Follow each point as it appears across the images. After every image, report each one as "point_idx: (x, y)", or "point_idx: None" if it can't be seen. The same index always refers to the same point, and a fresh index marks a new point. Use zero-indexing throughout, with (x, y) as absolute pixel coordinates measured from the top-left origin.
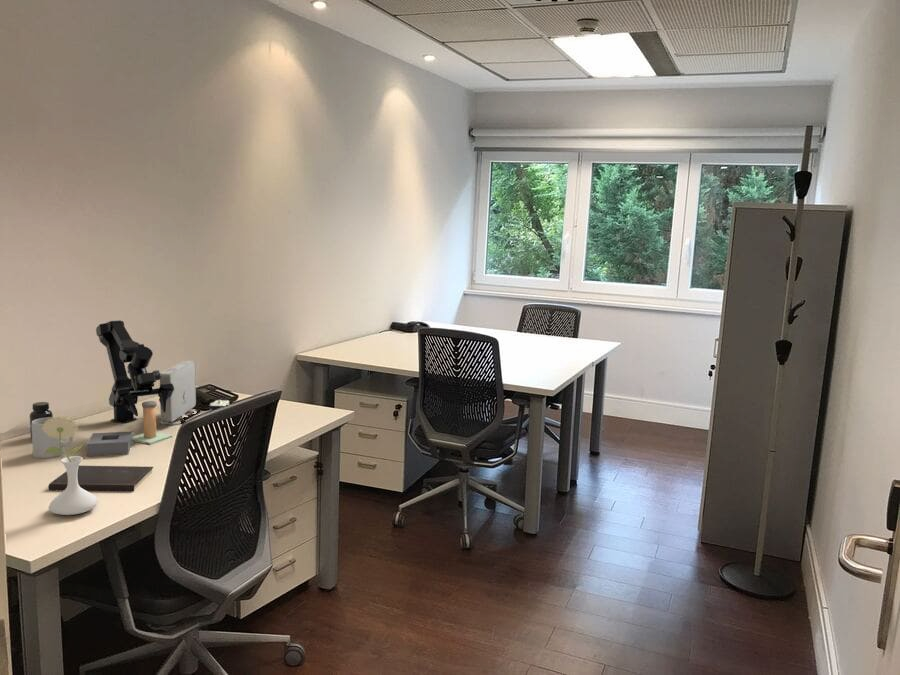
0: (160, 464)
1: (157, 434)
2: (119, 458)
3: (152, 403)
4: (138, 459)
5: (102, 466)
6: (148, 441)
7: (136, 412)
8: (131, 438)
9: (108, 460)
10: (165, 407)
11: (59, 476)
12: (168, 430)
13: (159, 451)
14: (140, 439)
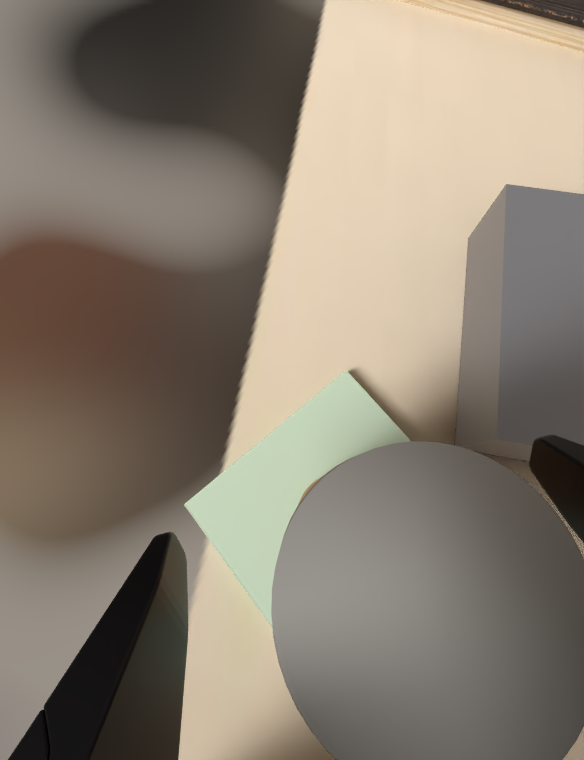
0: (319, 59)
1: None
2: None
3: (363, 514)
4: (414, 145)
5: (579, 12)
6: (357, 402)
7: (579, 450)
8: (481, 376)
9: (559, 172)
10: (131, 579)
11: None
12: None
13: (305, 230)
14: None
